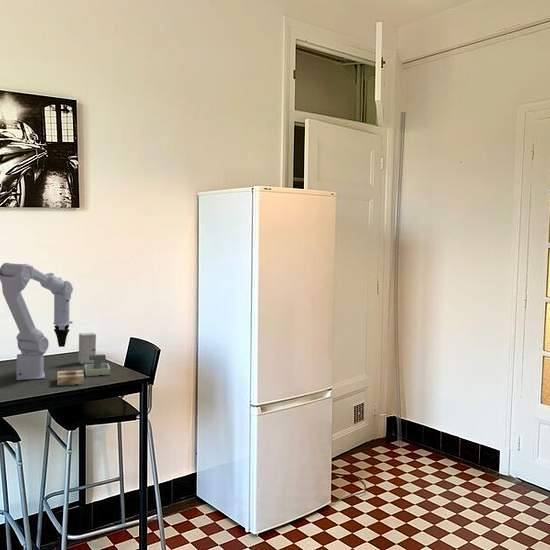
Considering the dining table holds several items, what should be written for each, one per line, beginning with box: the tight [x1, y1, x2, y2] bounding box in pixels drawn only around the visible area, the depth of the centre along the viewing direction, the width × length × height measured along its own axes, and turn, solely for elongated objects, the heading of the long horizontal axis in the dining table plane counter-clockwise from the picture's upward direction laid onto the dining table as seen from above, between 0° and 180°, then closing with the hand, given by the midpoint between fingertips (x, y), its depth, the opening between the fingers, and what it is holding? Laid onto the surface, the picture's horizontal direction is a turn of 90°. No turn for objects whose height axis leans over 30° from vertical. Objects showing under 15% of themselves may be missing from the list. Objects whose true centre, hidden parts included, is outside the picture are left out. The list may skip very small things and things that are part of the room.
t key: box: [89, 353, 107, 369], centre depth 228 cm, size 6×3×6 cm, turn 110°
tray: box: [84, 363, 111, 377], centre depth 228 cm, size 9×9×2 cm
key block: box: [56, 369, 85, 387], centre depth 214 cm, size 9×9×3 cm
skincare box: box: [78, 332, 97, 365], centre depth 244 cm, size 6×4×12 cm
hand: (61, 344), depth 233 cm, fingers open, 7 cm apart
